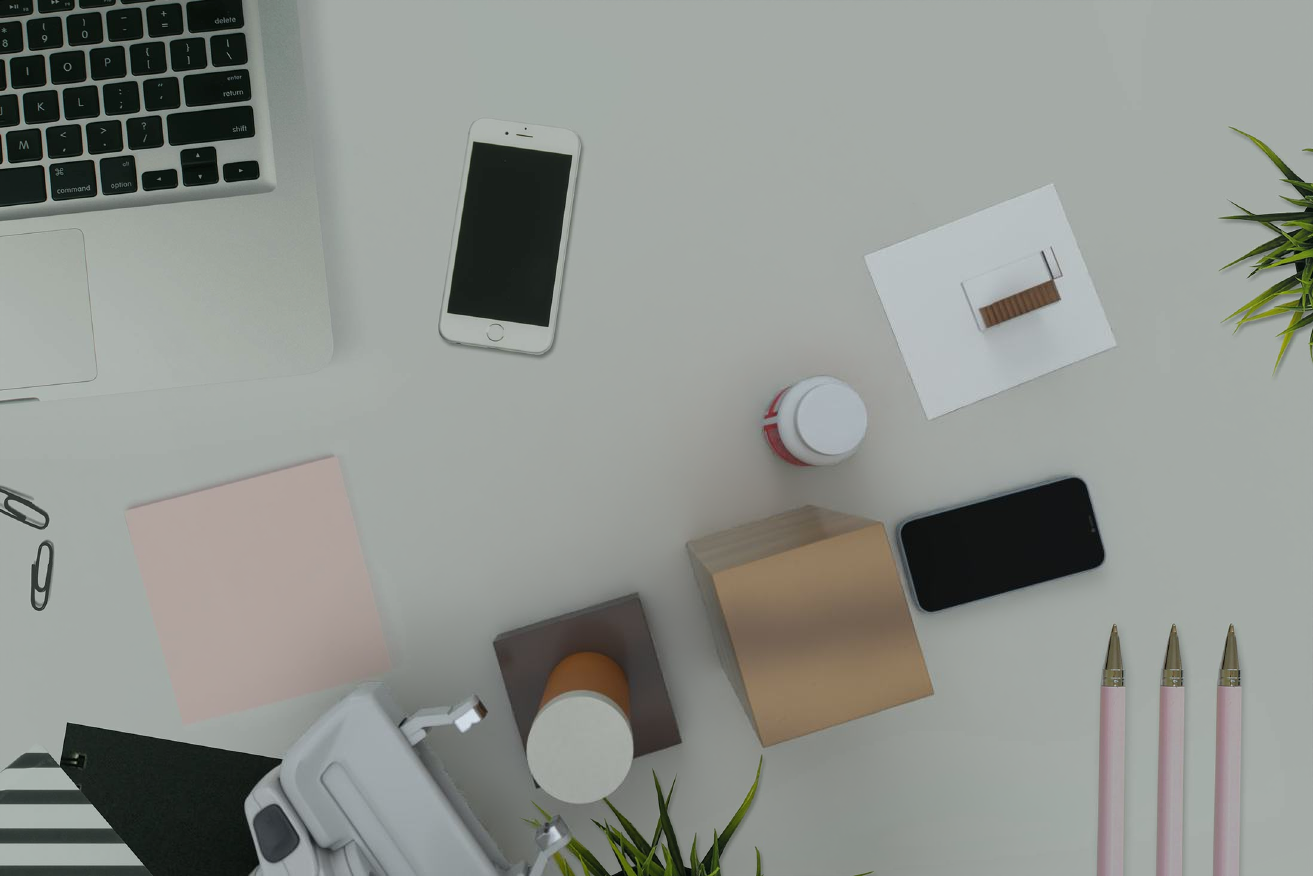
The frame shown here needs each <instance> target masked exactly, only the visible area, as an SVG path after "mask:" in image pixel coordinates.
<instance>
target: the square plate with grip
mask: <svg viewBox="0 0 1313 876" xmlns="http://www.w3.org/2000/svg"><path fill="white" fill-rule="evenodd" d="M863 259H864V261H865V264H866V266H867V269H868V271H869V274H870V277H871V279H872V282H873V284H874V287H875V289H876V292H877V294H878V297H879V299H880V302H881V305H882V307H883V310H884V312H885V314H886V318H887V319H888V323H889V325H890V327H891V330H892V332H893V335H894V337H895V340H896V343H897V345H898V348H899V350H900V353H901V356H902V357H903V360H904V363H905V365H906V369H907V370H908V373H909V375H910V378H911V381H912V383H913V385H914V388H915V391H916V393H917V396H918V399H919V401H920V403H921V406H922V408H923V410H924V413H925V416H926V419H927V421H931V420H934V419H936V418H938V417H940V416H943V415H946V414H948V413H950V412H952V411H956V410H958V409H960V408H963V407H966V406H968V405H971V404H973V403H976V402H978V401H980V400H984V399H986V398H988V397H992V396H993V395H996V394H998V393H1002V392H1004V391H1007V390H1008V389H1012V388H1013V387H1016V386H1019V385H1021V384H1024V383H1026V382H1029V381H1031V380H1035V379H1036V378H1039V377H1042V376H1043V375H1047V374H1048V373H1052V372H1054V371H1056V370H1059V369H1062V368H1064V367H1066V366H1069V365H1071V364H1075V363H1077V362H1079V361H1082V360H1084V359H1087V358H1090V357H1092V356H1094V355H1097V354H1099V353H1102V352H1104V351H1107V350H1109V349H1112V348H1114V347H1117V346H1118V343H1117V341H1116V338H1115V335H1114V333H1113V330H1112V328H1111V325H1110V323H1109V321H1108V318H1107V316H1106V313H1105V310H1104V308H1103V306H1102V303H1101V300H1100V298H1099V295H1098V292H1097V290H1096V288H1095V285H1094V282H1093V280H1092V278H1091V277H1092V276H1091V275H1090V272H1089V270H1088V268H1087V265H1086V262H1085V260H1084V257H1083V255H1082V252H1081V249H1080V247H1079V245H1078V242H1077V239H1076V237H1075V234H1074V232H1073V229H1072V226H1071V225H1070V221H1069V220H1068V217H1067V214H1066V212H1065V209H1064V206H1063V204H1062V202H1061V199H1060V196H1059V194H1058V192H1057V190H1056V187H1055V185H1054V182H1051V183H1049V184H1047V185H1044V186H1041V187H1039V188H1037V189H1034V190H1031V191H1028V192H1026V193H1023V194H1021V195H1018V196H1015V197H1013V198H1010V199H1008V200H1004V201H1002V202H999V203H998V204H995V205H992V206H990V207H987V208H984V209H982V210H979V211H976V212H974V213H971V214H969V215H967V216H964V217H962V218H958V219H956V220H954V221H951V222H948V223H945V224H943V225H940V226H938V227H936V228H933V229H930V230H928V231H925V232H923V233H920V234H917V235H915V236H912V237H910V238H907V239H905V240H902V241H900V242H896V243H894V244H891V245H889V246H887V247H884V248H881V249H878V250H875V251H874V252H870V253H869V254H866V255H863Z"/></svg>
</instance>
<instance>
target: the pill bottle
mask: <svg viewBox="0 0 1313 876" xmlns="http://www.w3.org/2000/svg"><path fill="white" fill-rule="evenodd" d="M761 419H762V421H761V432H762V437H763V439H764V442H765V444H766V447H767V448H768V450H769V451H770V452H771V454H773V455H774V456H775V457H776V458H777V459H779V460H780V461H782V462H784V463H785V464H788V465H790V466H791V465H792V466H796V467H828V466H829V467H830V466H834V465H836V464H840V463H842V462H844V461H845V460H848V459H849V458H850V457H852V455H854V454H855V453H856V452H857V450H858V449H859V448H860V446H861V445H862V443H863V441H864V438H865V436H866V432H867V429H868V424H869V418H868V411H867V407H866V405H865V403H864V401H863V400H862V398H861V397H860V395H859V394H858V392H857V391H856V390H855V389H854V388H853V387H851V385H850V384H848V383H847V382H846V381H843V380H840V379H838V378H836V377H832V376H825V375H821V376H812V377H809V378H805V379H803V380H801V381H799V382H797V383H795V384H792V385H790V386H788V387H786V388H784V389H782V390H781V391H779V392H778V393H777V394H775V395H774V396H773V397H772V398H771V399H770V400H769V402H768V403H767V405H766V407H765V409H764V412H763V414H762V418H761Z"/></svg>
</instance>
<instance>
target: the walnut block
mask: <svg viewBox="0 0 1313 876" xmlns="http://www.w3.org/2000/svg"><path fill="white" fill-rule="evenodd" d="M643 607H644V606H643V604H642V601H641V597H640V594H639V592H633V593H630V594H627V595H624V596H623V595H622V596H620V597H617V598H614V599H610V600H608V601H607V600H606V601H604V602H601V603H597V604H594V605H591V606H588V607H584V608H581V609H578V610H574V611H571V612H568V613H564V614H561V615H558V616H555V617H551V618H548V619H544V620H542V621H539V622H538V621H537V622H535V623H532V624H529V625H525V626H521V627H519V628H515V629H512V630H508V631H506V632H502V633H499V634H497V635H496V637H495V639H494V640H493V641H492V646H493V648H494V652H495V656H496V659H497V662H498V667H499V669H500V673H501V675H502V679H503V682H504V687H505V690H506V693H507V696H508V699H509V700H508V701H509V703H510V707H511V709H512V714H513V717H514V720H515V723H516V727H517V731H518V733H519V737H520V740H521V744H522V747H523V750H524V753H525V757H526V758H527V741H528V736H529V733H530V730H531V727H532V724H533V722H534V720H535V718H536V716H537V714H538V711H539V707H540V704H541V701H542V698H543V695H544V692H545V688H546V685H547V682H548V679H549V677H550V675H551V673H552V671H553V670H554V668H555V667H556V666H557V665H558V664H559V663H560V662H561V661H562V660H564V659H565V658H567V657H569V656H571V655H573V654H576V653H580V652H595V653H600V654H603V655H605V656H607V657H609V658H610V659H612V660H613V661H614V662H616V663H617V664H618V665H619V667H620V668H621V669H622V671H623V672H624V674H625V676H626V679H627V682H628V686H629V700H630V721H631V729H632V734H633V747H634V749H633V759H632V760H634V759H637V758H640V757H643V756H645V755H646V756H647V755H649V754H653V753H656V752H659V751H662V750H665V749H669V748H671V747H675V746H678V745H681V744H683V740H682V736H681V732H680V728H679V725H678V721H677V718H676V715H675V711H674V708H673V705H672V701H671V699H670V694H669V690H668V688H667V685H666V680H665V678H664V675H663V670H662V667H661V664H660V661H659V658H658V654H657V652H656V648H655V644H654V640H653V638H652V635H651V631H650V628H649V624H648V621H647V618H646V613H645V610H644V608H643ZM530 774H531V777H532V780H533V784H534V787H535V789H536V790H537V789H540V788H541V787H540V786H539V785H538V783H537V782H536V780H535V779H534V777H533V775H532V773H531V772H530ZM541 789H542V788H541Z"/></svg>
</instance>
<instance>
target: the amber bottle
mask: <svg viewBox="0 0 1313 876" xmlns="http://www.w3.org/2000/svg"><path fill="white" fill-rule="evenodd" d="M633 749H634V747H633V734H632V729H631V721H630V700H629V686H628V682H627V679H626V676H625V674H624V672H623V671H622V669H621V668H620V667H619V665H618V664H617V663H616V662H614V661H613V660H612V659H610V658H609V657H607V656H605V655H603V654H600V653H595V652H580V653H576V654H573V655H571V656H569V657H567V658H565V659H564V660H562V661H561V662H560V663H559V664H558V665H557V666H556V667H555V668H554V670H553V671H552V673H551V675H550V677H549V679H548V682H547V685H546V688H545V692H544V695H543V698H542V701H541V704H540V707H539V711H538V714H537V716H536V718H535V720H534V722H533V724H532V727H531V730H530V733H529V736H528V741H527V757H526V761H527V765H528V767H529V768H528V769H529V771H530V774H531V773H532V774H531V776H532V775H533V777H534V779H535V780H536V782H537V783H538V785H539V786H540V787H541V789H542V790H543V791H544V792H545V793H547V794H548V795H549V796H551V797H553V798H554V799H557V800H559V801H560V802H564V803H567V804H575V805H577V804H579V805H584V804H590V803H595V802H597V801H600V800H602V799H604V798H606V797H608V796H610V795H611V794H612V793H613V792H615V791H616V790H617V789H618V788H619V787H621V786H620V785H622V783H623V782H624V781H625V779H626V777H627V775H628V774H629V772H630V770H631V767H632V764H633V760H634V759H633ZM533 777H532V778H533Z"/></svg>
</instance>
